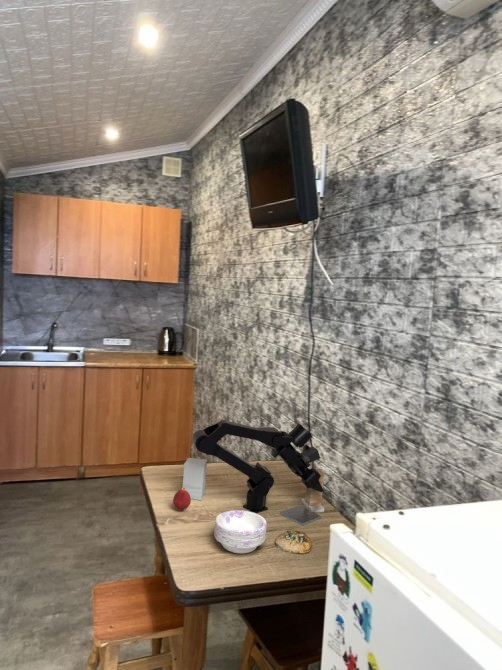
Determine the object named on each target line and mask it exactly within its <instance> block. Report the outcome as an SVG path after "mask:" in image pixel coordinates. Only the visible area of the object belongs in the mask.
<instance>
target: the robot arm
mask: <svg viewBox="0 0 502 670" xmlns="http://www.w3.org/2000/svg"><path fill="white" fill-rule="evenodd" d="M228 435H230V436H233V437H239V438H245V439H248V440H253V441H258V442H260V443H262V444H264V445H266V446H268V447H270V448H271V452H270V453H271V454H270V455H271V456H272V458H274V459H276V458H277V457H278V456H279V458H281V459H282V460H283V461H284V463H285V464H286V465H287V468H288V469H290V471H291V472H292V473H293V474H295V475H296V476H297V477H300V478H301V479H300V481H301V482H302V484H303V485H304V486H305V487H307V488H311V489H314V490H316V491H319V492H322V493H323V492H324V487H323V488H322V486H321V484H320V482H319V479H320V477H321V475H320V474H319V473H318V471H316V470H315V469H316V468H313V467H311V464H312V463H313V462H316V461H318V460H321V455H320V453H319V450H318V448H316V447H315V446H312V445H311V446H309V445H308V444H307V443H308V442H310V440H311V439H312V438H313V435H312V434H311V432H310V431H308V430H307V428H305V427H304V426H303V424H301V423H297V424H296V425H295V427H294V428H293V429H292V430H291V431H290V432H289V433H288V432H287V431H284V430H283V431H282V430H279V429H278V428H276V427H274V426H273V427H272V426H271V427H270V426H267V427H266V426H264V427H262V426H261V427H255V426H251V425H248V424H247V425H246V424H242V423H236V422H231V421H228V420H224V419H221V420H219V421H218V422H216V423H213V424H211V425H208V426H206V427H205V428H203V429H199V430H197V431H196V432H194V433H193V435H192V443H193V445H194V447H195V448H196V449H197V451H198V452H200V453H202V454H205V455H207V456H213V457H216V458H218V459H220V460H221V461H222V462H225V464H228V465H229V466H231V467H232V468H234V469H236V471H239V472H240V473H242V474H243V475H246V477H248V479H247V480H246V485H247V487H248V490H247V491H246V492H247V495H246V503H245V504H243V506H242V507H243V508H245V510H247V511H249V512H253V513H256V514H259V513H261V512H263V511H267V510H269V507H267V506H266V504H267V496H268V494H269V492H270V490H271V488H273V486H274V484H275V479H274V477H273V475H272V472H271V471H270V470H269V469H268V467H267V466H265V465H262V464H261V463H260V462H258V461H256V463H255V464H254V463H253V464H252V463H250V462H249V461H247V460H246V459H244V458H242V457H240V456H239V455H238V454H236V453H234V452H232V451H231V450H229V449H227V448H226V447H225V446H223V445H221V444H220V443H219V442H220V440H222V439H223V438H224V437H225V436H228ZM293 445H294V446H295V447H294V446H293ZM297 448H299V449H301V448H302V451H301V452H300V451H298V450H297ZM310 467H311V468H310Z"/></svg>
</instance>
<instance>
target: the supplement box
mask: <svg viewBox="0 0 502 670" xmlns="http://www.w3.org/2000/svg"><path fill="white" fill-rule="evenodd" d="M207 468H208V459H202V458H196V457H195V458H194V457H187V459H186V461H184V463H183V476H182V487H181V489H182V488H183V487H184V488H185V491H187V492H188V493H189V494H190V497H191V500H195V501H202V499H203V498H204V496H205V493H206V482H207V471H208V469H207Z"/></svg>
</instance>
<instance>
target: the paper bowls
mask: <svg viewBox="0 0 502 670" xmlns="http://www.w3.org/2000/svg"><path fill="white" fill-rule="evenodd" d="M267 522H268V521H266V519H265V518H264V517H263V515H260V514H259V513H253V512H252V511H250V510H243V509H242V510H239V509H236V510H235V509H234V510H227V511H224V512H221V513H219V514H218V515H217V516H216V517H215V521H214V530H213V531H214V532H213V533H214V534H213V535H214V538H215V540H216V541H217V542H218V543H220V544H221V546H222V547H223V548H224V549H225V550H226V551H229V552H231V553H233V554H234V553H235V554H248V553H252V552H253V551H255V550H256V549H257V548H258V547H259V546H261V545H262V544H263V543H265V541H266V537H267V527H268V526H267V525H268V524H267Z"/></svg>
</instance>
